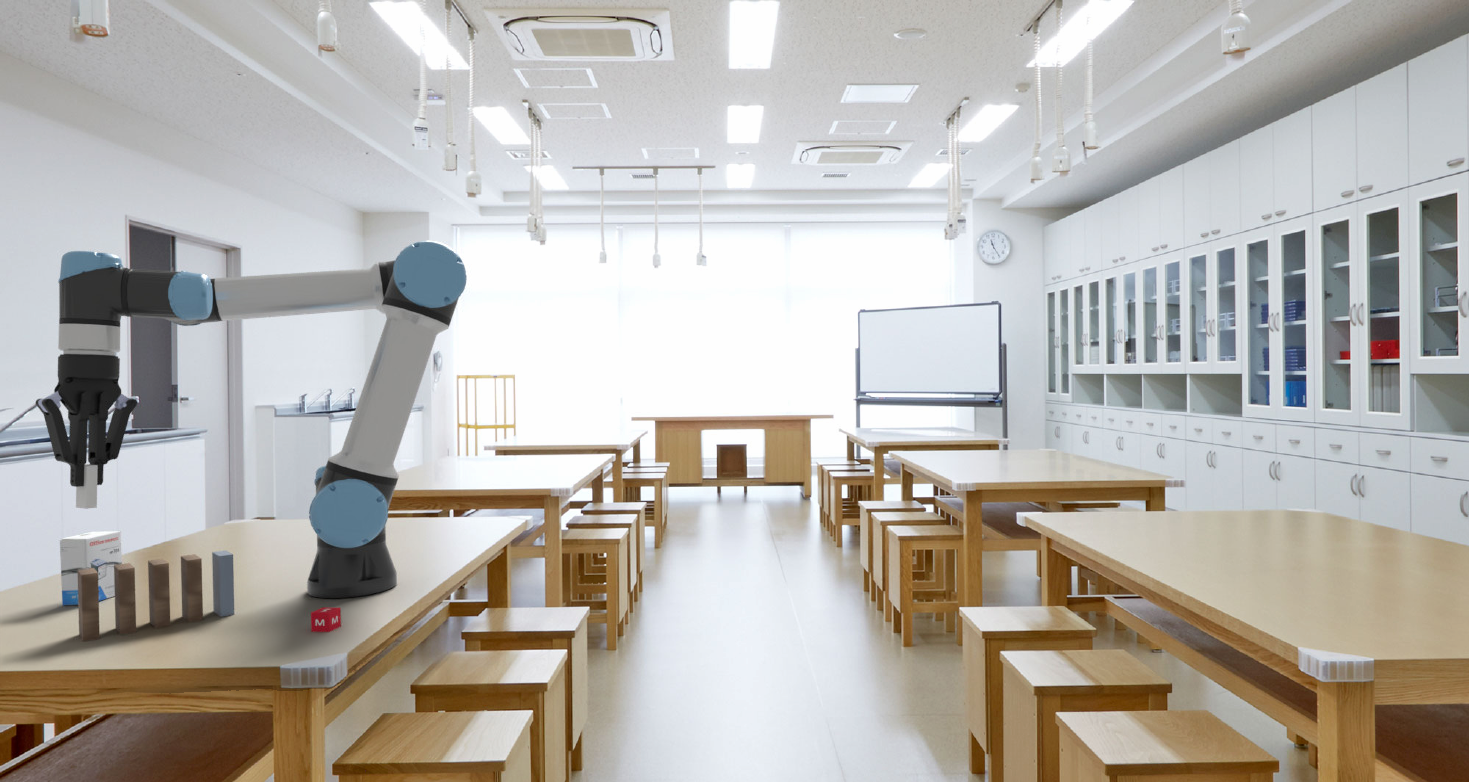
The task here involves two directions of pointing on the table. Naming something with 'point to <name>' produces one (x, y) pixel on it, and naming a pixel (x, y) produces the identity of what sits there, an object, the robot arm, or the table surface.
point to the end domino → (88, 604)
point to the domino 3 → (191, 588)
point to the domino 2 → (159, 593)
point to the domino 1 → (125, 598)
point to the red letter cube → (325, 619)
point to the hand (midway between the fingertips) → (86, 507)
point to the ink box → (89, 562)
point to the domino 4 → (223, 583)
